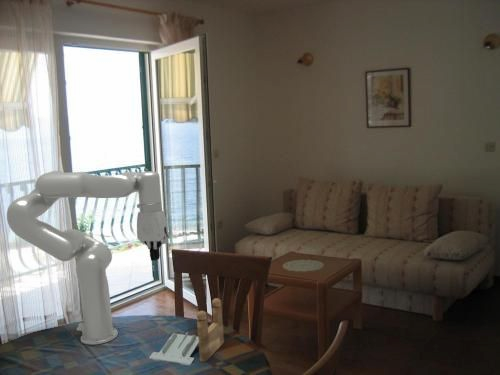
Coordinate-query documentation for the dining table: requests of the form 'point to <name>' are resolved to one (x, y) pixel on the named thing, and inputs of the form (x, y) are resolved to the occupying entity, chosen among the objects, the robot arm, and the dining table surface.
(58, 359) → the dining table surface
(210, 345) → the headboard
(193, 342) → the metal bracket
